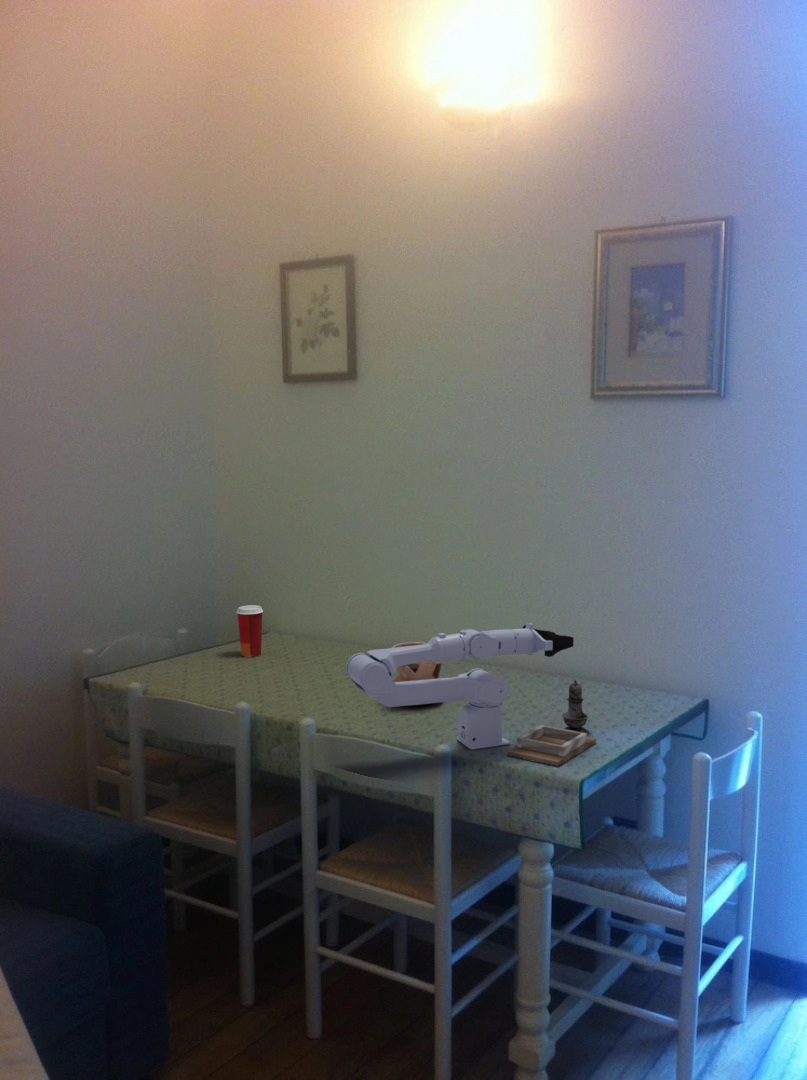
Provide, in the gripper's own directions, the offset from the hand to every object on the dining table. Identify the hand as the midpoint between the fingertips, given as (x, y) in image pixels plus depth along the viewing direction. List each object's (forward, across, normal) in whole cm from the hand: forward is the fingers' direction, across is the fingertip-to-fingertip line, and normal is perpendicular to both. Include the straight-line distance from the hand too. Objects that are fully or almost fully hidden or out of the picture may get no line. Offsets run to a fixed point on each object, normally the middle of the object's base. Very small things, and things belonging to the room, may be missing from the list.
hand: (563, 639), depth 218 cm
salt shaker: (+3, -1, +21) cm, 22 cm away
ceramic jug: (-19, +37, +20) cm, 47 cm away
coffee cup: (-46, +105, +18) cm, 116 cm away
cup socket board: (-8, -9, +22) cm, 25 cm away
